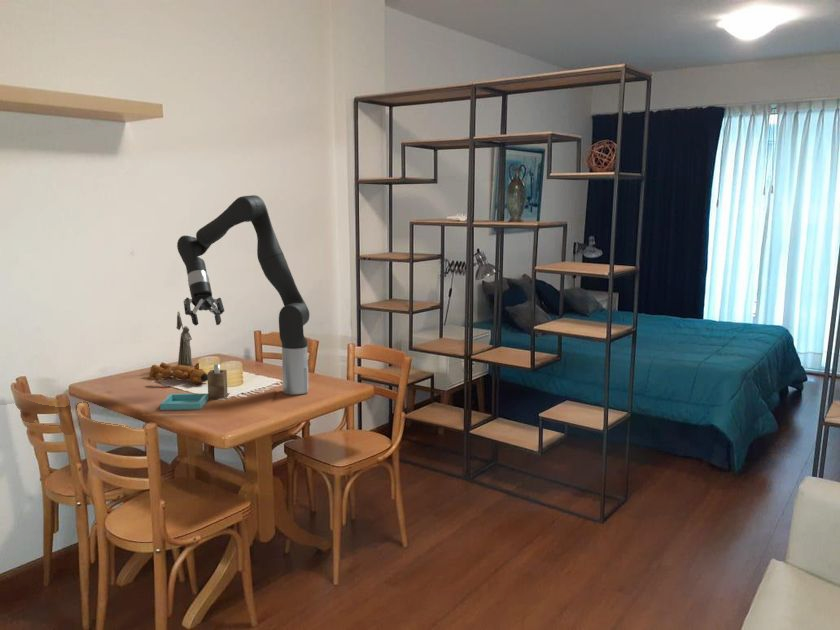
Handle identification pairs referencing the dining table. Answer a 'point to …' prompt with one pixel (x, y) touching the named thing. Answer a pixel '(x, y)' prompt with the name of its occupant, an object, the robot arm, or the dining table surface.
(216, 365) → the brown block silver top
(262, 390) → the dining table surface
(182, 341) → the wizard figurine
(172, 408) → the tray
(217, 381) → the sleeve
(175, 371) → the toy
